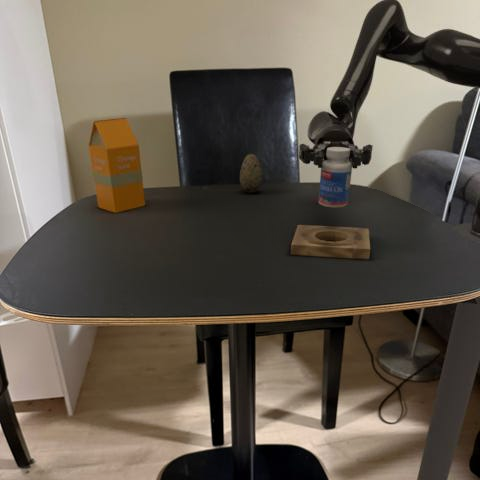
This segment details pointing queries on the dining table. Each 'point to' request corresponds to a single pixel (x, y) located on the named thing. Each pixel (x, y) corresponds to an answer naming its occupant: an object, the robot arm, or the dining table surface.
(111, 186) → the orange juice
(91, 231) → the dining table surface
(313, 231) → the pad
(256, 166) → the decorative egg
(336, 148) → the pill bottle
